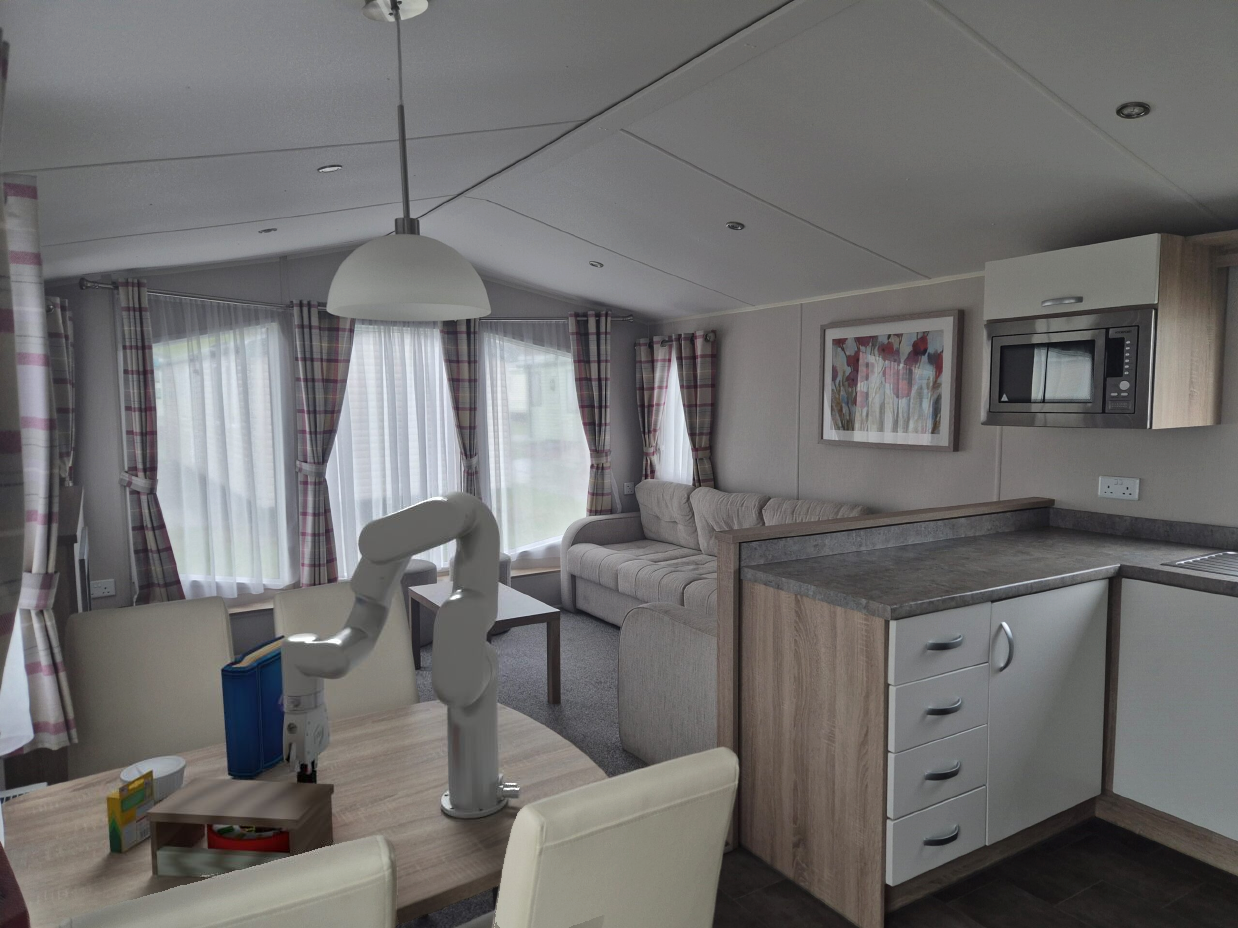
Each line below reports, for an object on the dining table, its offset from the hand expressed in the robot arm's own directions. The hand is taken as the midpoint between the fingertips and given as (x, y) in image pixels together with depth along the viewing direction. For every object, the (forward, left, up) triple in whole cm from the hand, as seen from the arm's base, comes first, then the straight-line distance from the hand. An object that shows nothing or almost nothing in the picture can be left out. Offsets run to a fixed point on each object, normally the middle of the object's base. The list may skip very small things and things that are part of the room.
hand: (307, 790), depth 152 cm
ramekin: (+32, 0, -2) cm, 32 cm away
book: (+17, -16, -2) cm, 23 cm away
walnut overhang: (0, +20, -2) cm, 21 cm away
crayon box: (+23, +18, -2) cm, 29 cm away
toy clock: (-2, +15, -2) cm, 15 cm away
